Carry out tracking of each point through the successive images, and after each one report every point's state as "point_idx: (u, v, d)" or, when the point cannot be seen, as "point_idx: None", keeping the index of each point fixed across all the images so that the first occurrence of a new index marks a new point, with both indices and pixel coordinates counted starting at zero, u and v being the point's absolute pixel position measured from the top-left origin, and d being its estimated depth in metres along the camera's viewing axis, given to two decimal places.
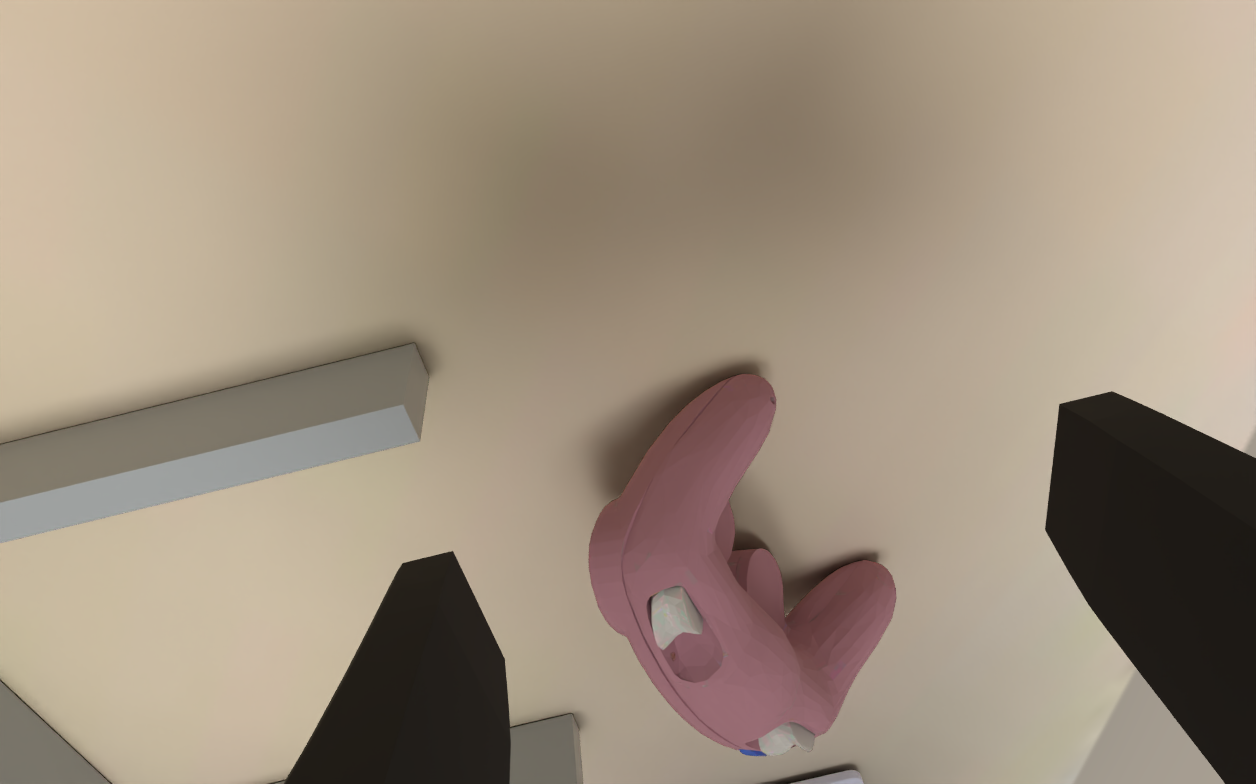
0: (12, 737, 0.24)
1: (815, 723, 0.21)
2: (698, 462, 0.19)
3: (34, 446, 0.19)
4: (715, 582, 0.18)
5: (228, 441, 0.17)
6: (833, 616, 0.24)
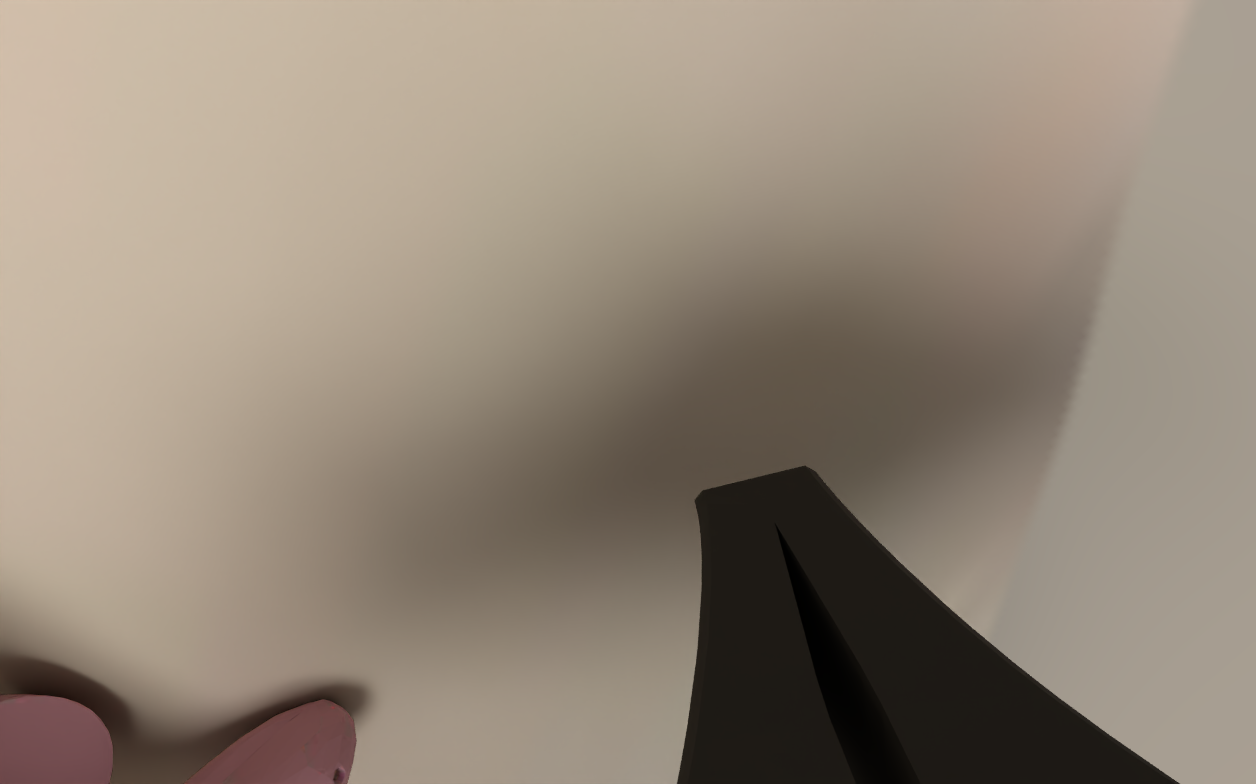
0: None
1: None
2: None
3: None
4: None
5: None
6: None
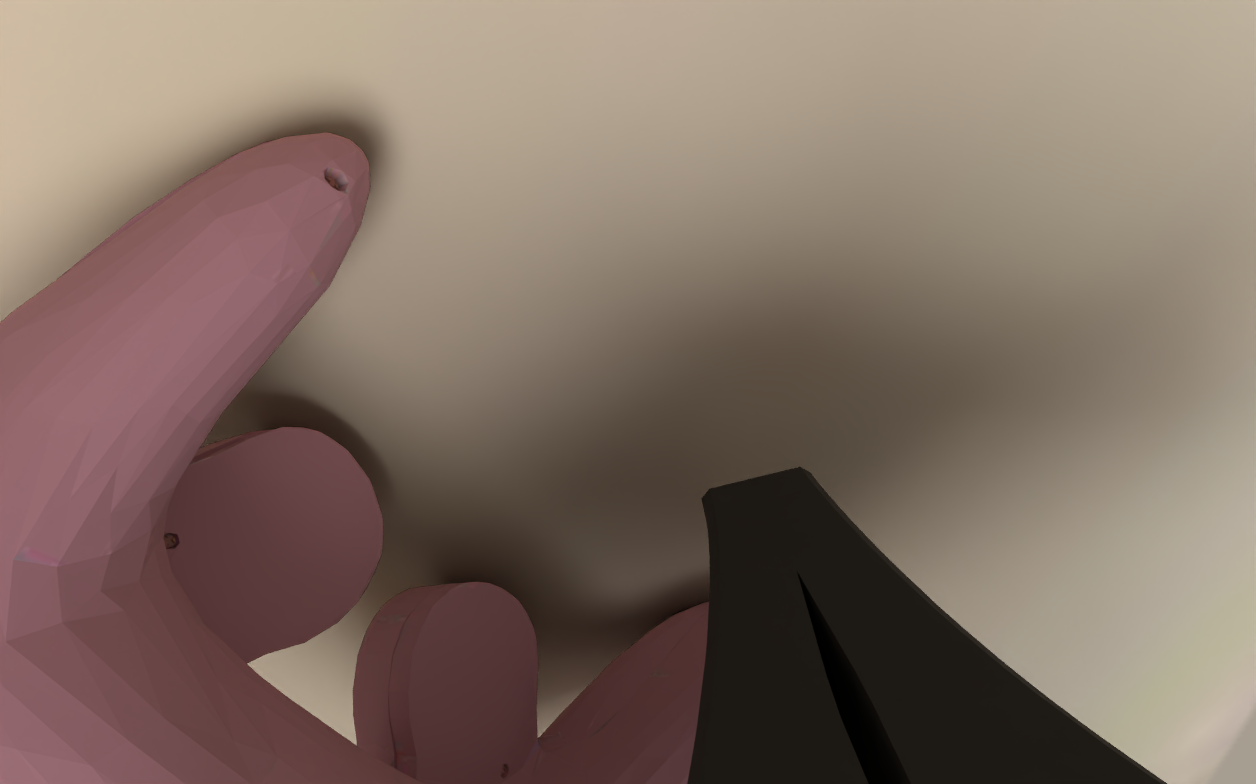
0: None
1: None
2: (39, 341, 0.06)
3: None
4: (33, 730, 0.05)
5: None
6: (636, 727, 0.11)
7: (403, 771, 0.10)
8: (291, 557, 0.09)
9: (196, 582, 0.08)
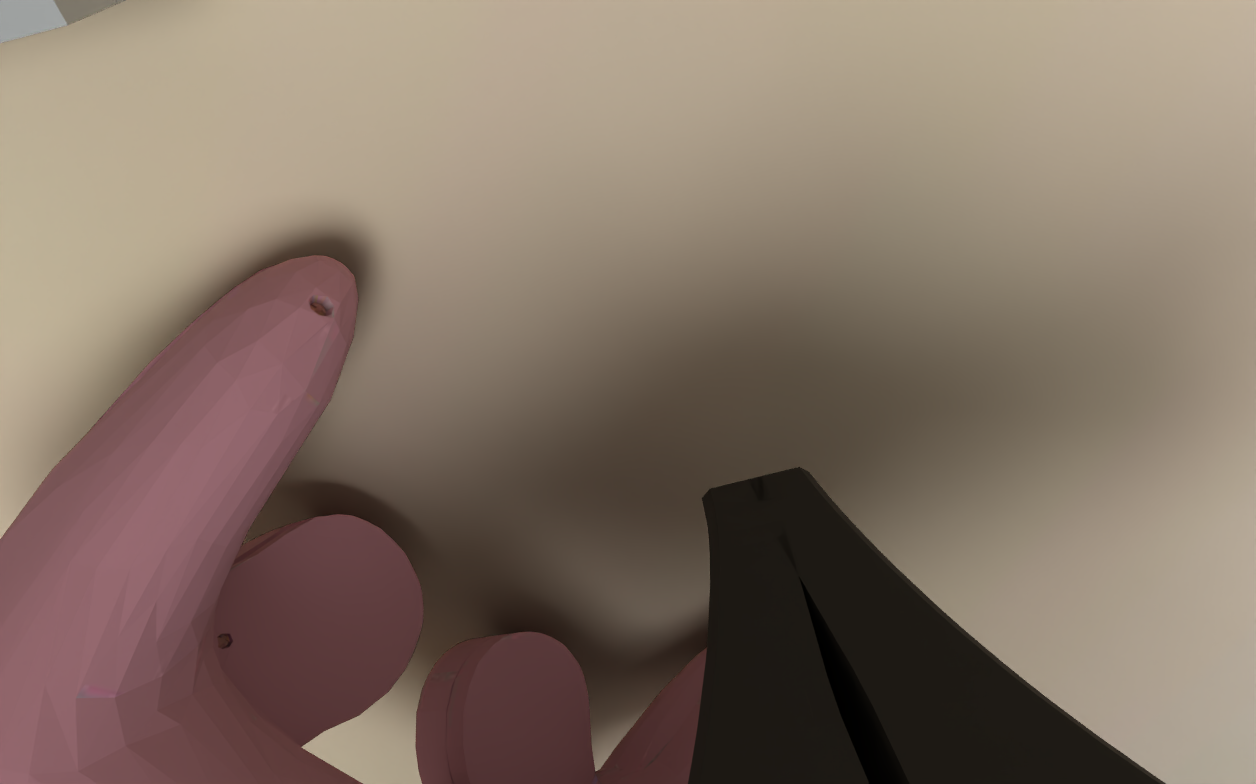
0: None
1: None
2: (78, 497, 0.07)
3: None
4: None
5: None
6: (687, 756, 0.11)
7: None
8: (338, 638, 0.09)
9: (252, 675, 0.09)
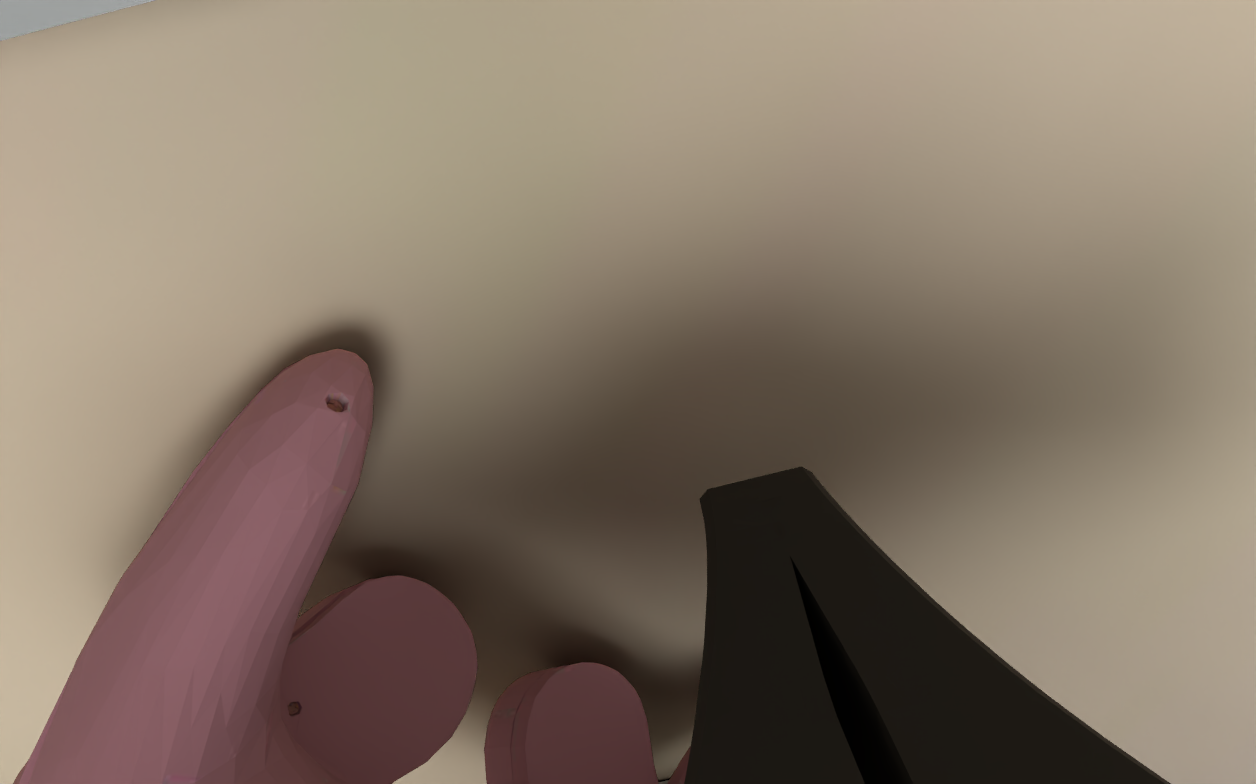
0: None
1: None
2: (143, 604, 0.08)
3: None
4: None
5: None
6: None
7: None
8: (398, 692, 0.10)
9: (323, 736, 0.09)
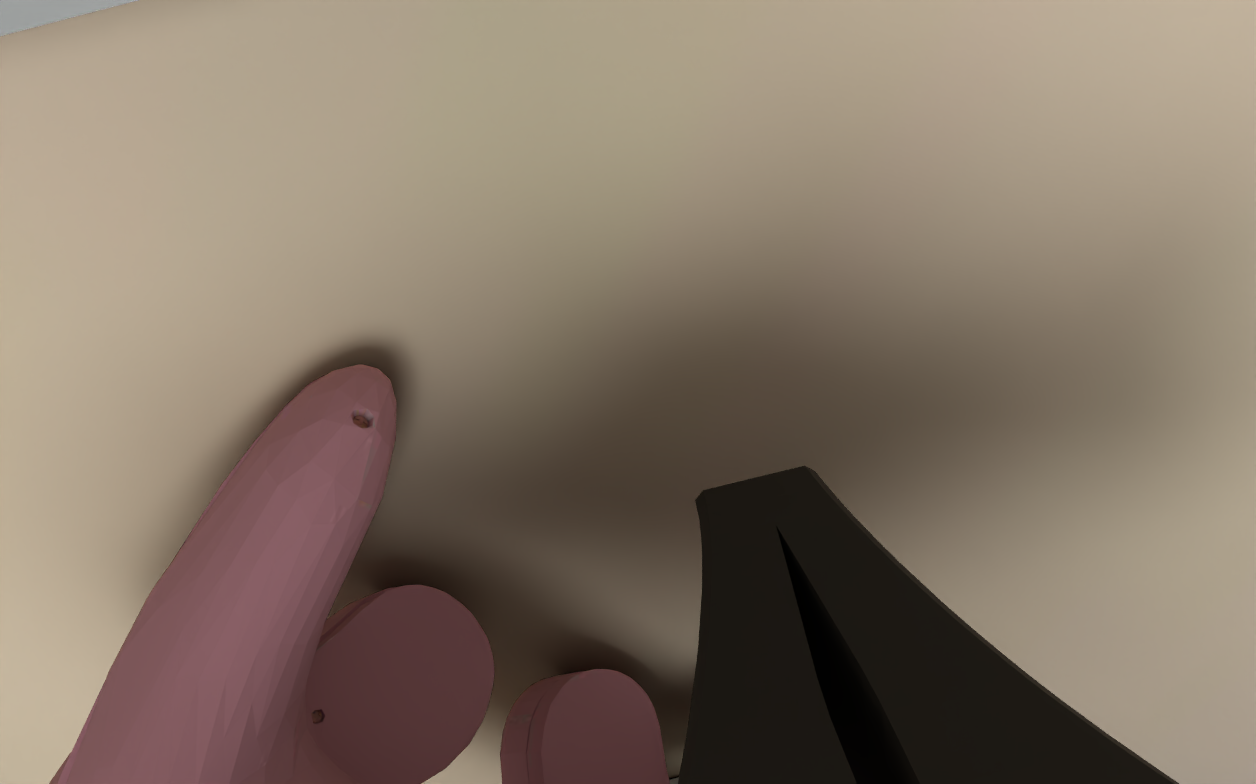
0: None
1: None
2: (175, 616, 0.08)
3: None
4: None
5: None
6: None
7: None
8: (418, 699, 0.10)
9: (345, 744, 0.10)
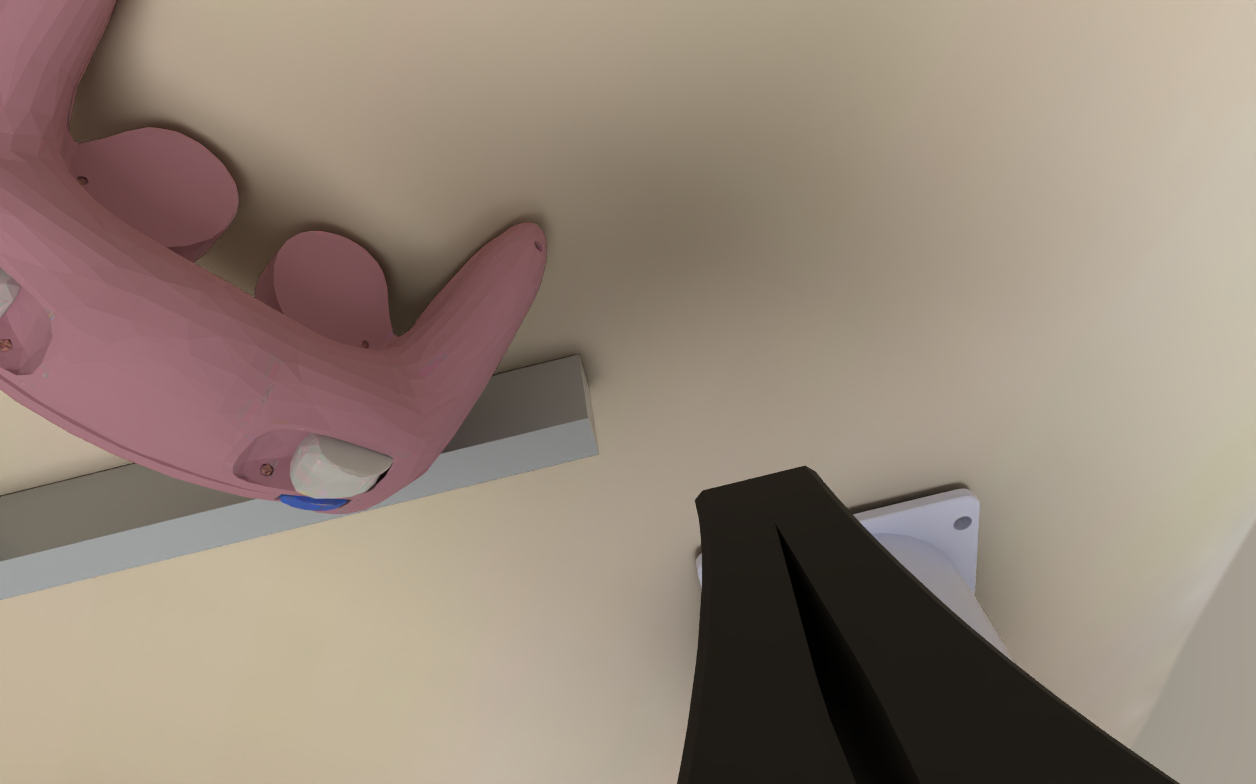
0: None
1: (368, 434, 0.14)
2: None
3: None
4: None
5: None
6: (447, 301, 0.16)
7: None
8: (168, 198, 0.14)
9: (104, 203, 0.14)
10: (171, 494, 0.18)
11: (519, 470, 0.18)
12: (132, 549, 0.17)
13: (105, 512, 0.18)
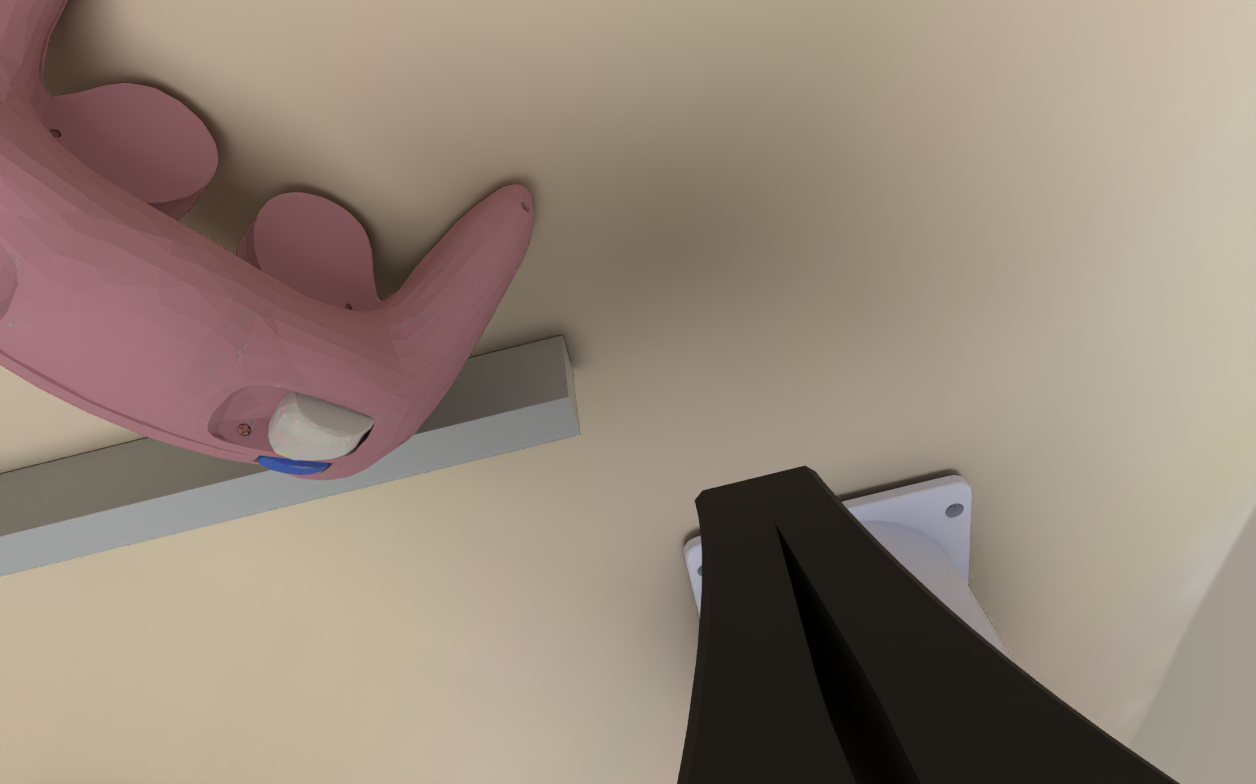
0: None
1: (347, 393, 0.13)
2: None
3: None
4: None
5: None
6: (432, 263, 0.15)
7: None
8: (145, 154, 0.14)
9: (77, 157, 0.13)
10: (147, 475, 0.18)
11: (500, 451, 0.17)
12: (107, 531, 0.17)
13: (81, 494, 0.18)
